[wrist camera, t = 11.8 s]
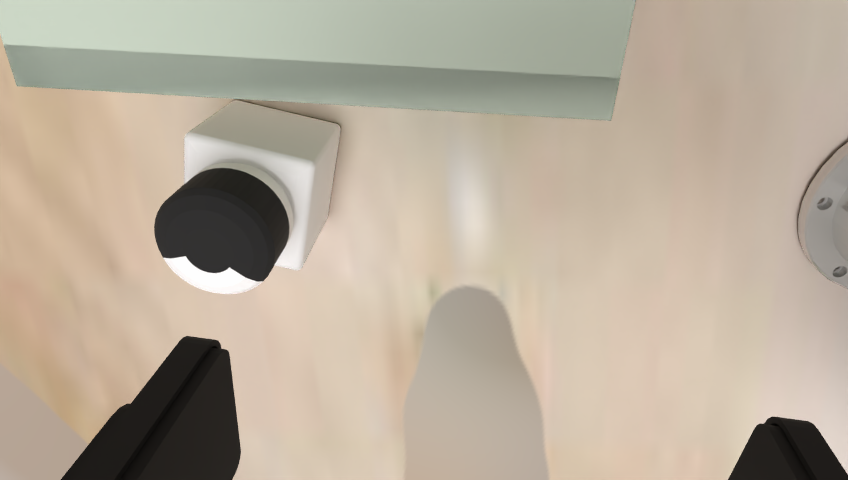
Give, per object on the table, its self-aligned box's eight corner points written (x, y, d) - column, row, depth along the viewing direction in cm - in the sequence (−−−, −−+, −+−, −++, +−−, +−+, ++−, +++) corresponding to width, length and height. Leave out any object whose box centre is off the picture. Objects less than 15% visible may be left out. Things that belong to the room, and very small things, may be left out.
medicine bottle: (233, 97, 35) (131, 166, 25) (342, 123, 36) (288, 203, 25) (228, 196, 39) (137, 293, 28) (328, 219, 39) (275, 324, 29)
